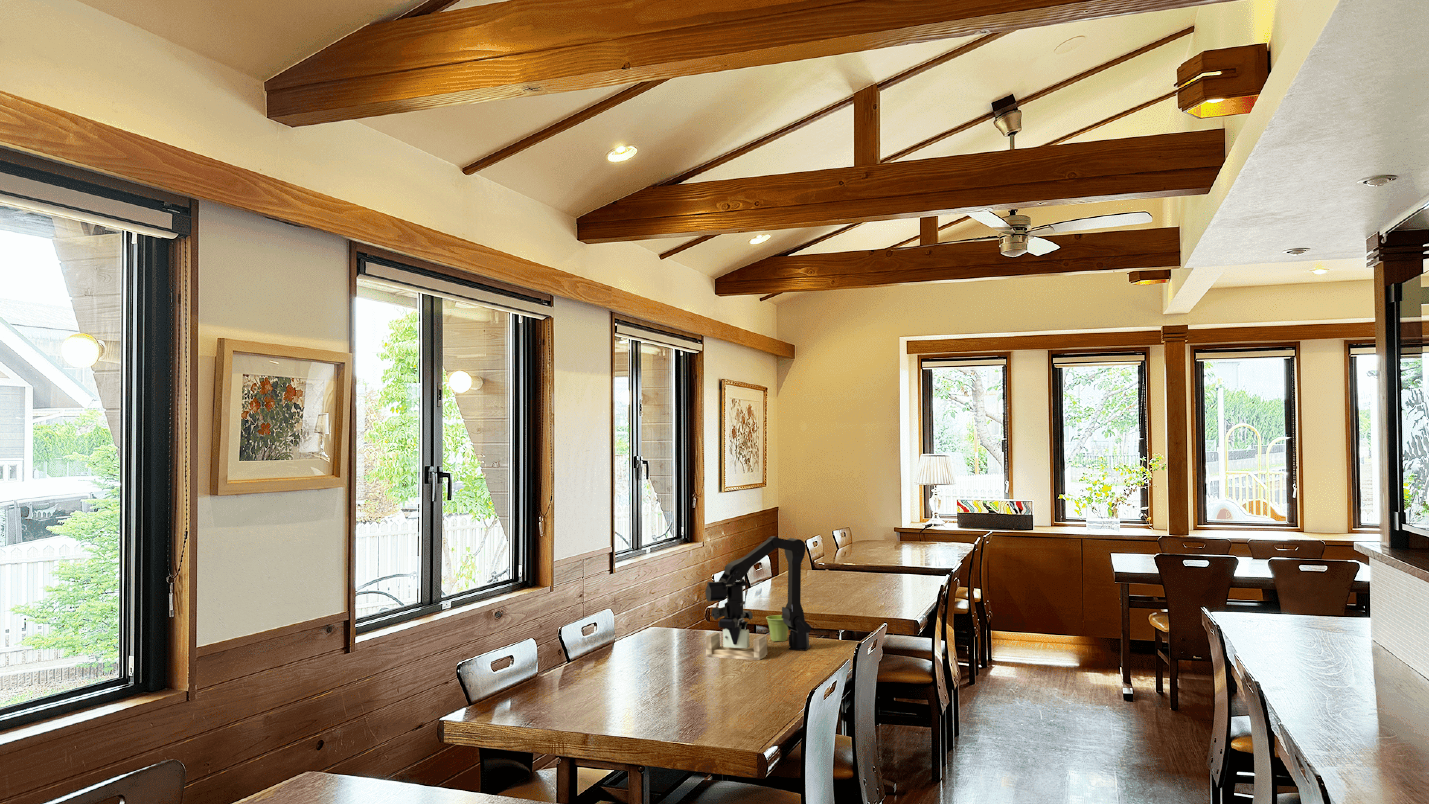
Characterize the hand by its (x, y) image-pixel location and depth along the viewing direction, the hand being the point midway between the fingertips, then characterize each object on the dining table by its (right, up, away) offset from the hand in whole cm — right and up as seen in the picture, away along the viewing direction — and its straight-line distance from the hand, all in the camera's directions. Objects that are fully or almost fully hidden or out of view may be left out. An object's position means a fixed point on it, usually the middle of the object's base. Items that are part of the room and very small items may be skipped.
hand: (736, 643), depth 319 cm
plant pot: (+17, -5, +24) cm, 30 cm away
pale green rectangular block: (0, -1, 0) cm, 1 cm away
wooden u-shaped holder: (0, -4, 0) cm, 4 cm away
